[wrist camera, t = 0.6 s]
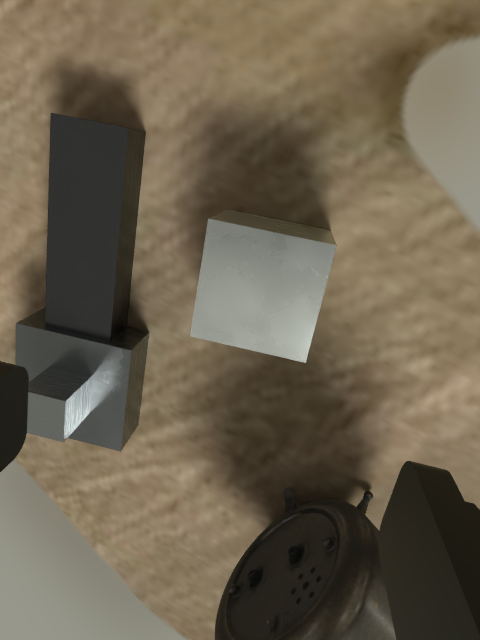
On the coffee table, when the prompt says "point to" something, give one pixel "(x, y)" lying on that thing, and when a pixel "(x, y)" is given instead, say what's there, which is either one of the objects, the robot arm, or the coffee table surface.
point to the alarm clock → (309, 578)
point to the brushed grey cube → (262, 283)
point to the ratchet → (87, 290)
